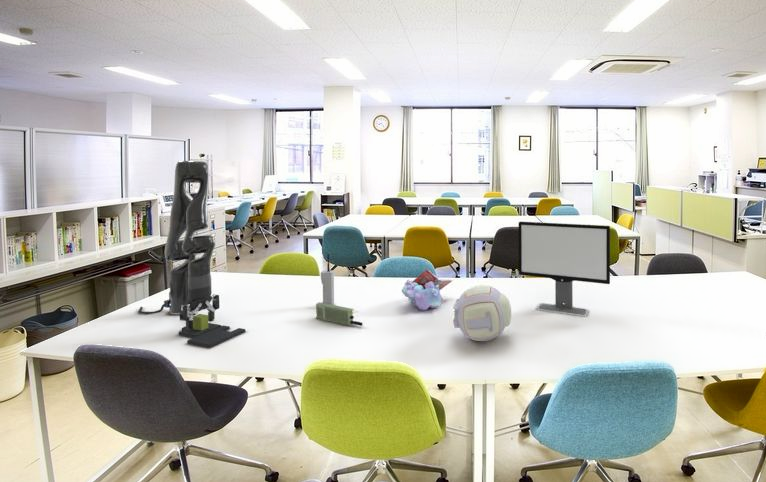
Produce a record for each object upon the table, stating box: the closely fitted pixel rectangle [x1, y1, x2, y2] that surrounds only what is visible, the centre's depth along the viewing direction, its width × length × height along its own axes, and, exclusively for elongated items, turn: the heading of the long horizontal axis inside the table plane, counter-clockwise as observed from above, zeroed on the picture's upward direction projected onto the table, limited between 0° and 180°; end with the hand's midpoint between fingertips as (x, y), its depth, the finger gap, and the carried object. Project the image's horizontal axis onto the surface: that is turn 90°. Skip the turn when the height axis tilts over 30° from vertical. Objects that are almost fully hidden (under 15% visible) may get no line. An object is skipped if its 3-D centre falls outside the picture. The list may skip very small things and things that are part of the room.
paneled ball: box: [452, 284, 512, 342], centre depth 140 cm, size 21×22×20 cm
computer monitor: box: [518, 221, 611, 317], centre depth 168 cm, size 41×8×40 cm, turn 68°
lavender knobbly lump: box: [401, 269, 454, 311], centre depth 176 cm, size 20×22×18 cm
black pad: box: [178, 313, 223, 339], centre depth 148 cm, size 10×13×6 cm
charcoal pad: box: [186, 324, 246, 349], centre depth 142 cm, size 12×14×1 cm
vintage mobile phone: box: [320, 253, 335, 305], centre depth 174 cm, size 4×5×25 cm
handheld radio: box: [315, 302, 363, 327], centre depth 156 cm, size 7×3×25 cm
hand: (200, 325), depth 148 cm, fingers open, 7 cm apart
